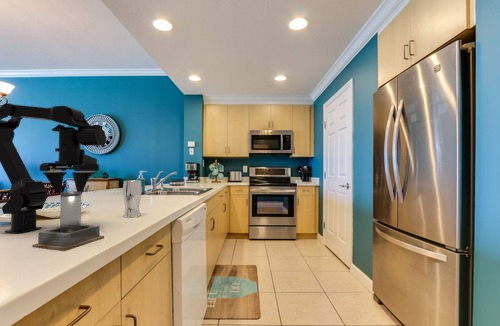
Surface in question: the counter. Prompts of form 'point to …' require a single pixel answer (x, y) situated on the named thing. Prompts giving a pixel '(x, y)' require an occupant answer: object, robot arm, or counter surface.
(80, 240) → the socket
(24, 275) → the counter surface
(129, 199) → the beer glass
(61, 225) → the brushed metal canister
